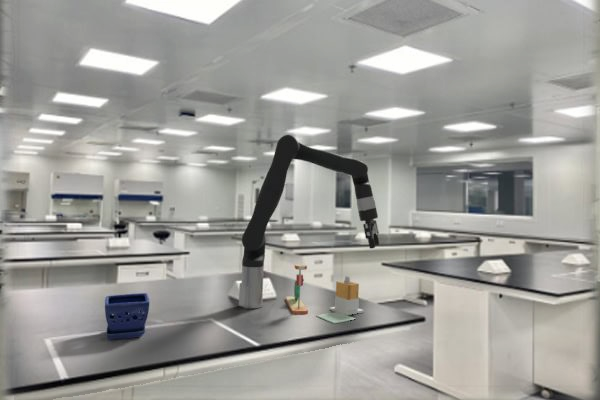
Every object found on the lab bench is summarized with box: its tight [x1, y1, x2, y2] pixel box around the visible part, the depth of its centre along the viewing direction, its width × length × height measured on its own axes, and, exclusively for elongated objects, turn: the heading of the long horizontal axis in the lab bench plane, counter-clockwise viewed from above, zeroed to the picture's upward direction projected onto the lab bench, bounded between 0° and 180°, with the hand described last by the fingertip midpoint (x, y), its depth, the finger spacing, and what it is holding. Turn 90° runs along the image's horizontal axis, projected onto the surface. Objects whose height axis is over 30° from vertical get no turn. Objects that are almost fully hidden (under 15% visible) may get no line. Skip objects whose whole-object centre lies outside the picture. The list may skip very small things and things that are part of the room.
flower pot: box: [104, 292, 150, 341], centre depth 131 cm, size 13×13×12 cm
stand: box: [329, 275, 365, 316], centre depth 169 cm, size 10×10×14 cm
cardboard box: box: [335, 280, 360, 300], centre depth 169 cm, size 5×8×6 cm
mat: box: [316, 311, 357, 325], centre depth 158 cm, size 11×11×1 cm
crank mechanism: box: [285, 263, 309, 315], centre depth 174 cm, size 25×7×19 cm, turn 9°
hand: (374, 246), depth 167 cm, fingers open, 8 cm apart
